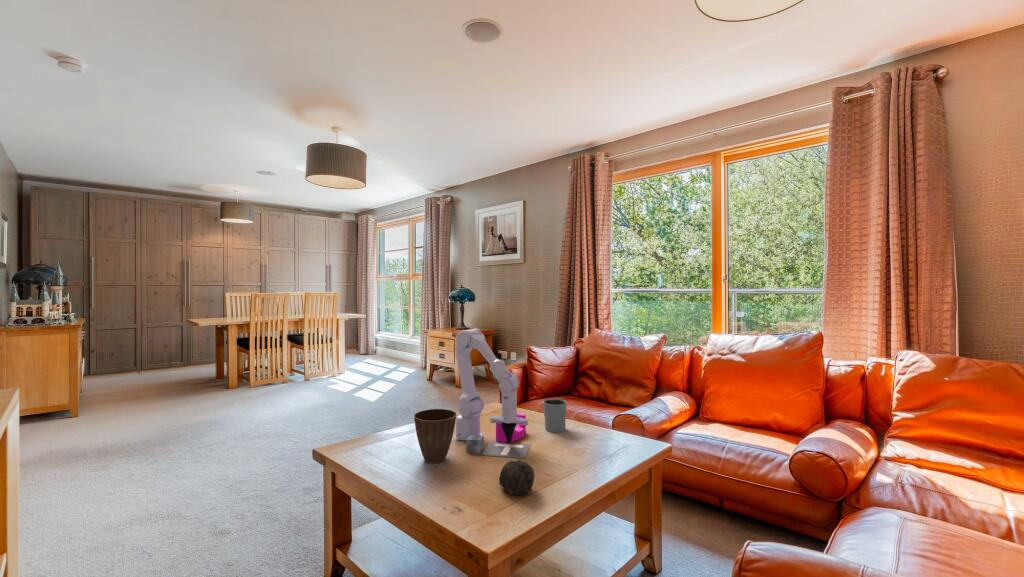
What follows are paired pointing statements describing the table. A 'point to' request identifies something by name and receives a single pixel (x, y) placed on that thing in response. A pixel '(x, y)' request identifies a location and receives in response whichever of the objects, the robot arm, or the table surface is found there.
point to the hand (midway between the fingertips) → (509, 442)
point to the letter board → (506, 450)
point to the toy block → (517, 432)
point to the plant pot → (435, 433)
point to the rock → (517, 477)
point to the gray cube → (474, 444)
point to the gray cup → (555, 415)
